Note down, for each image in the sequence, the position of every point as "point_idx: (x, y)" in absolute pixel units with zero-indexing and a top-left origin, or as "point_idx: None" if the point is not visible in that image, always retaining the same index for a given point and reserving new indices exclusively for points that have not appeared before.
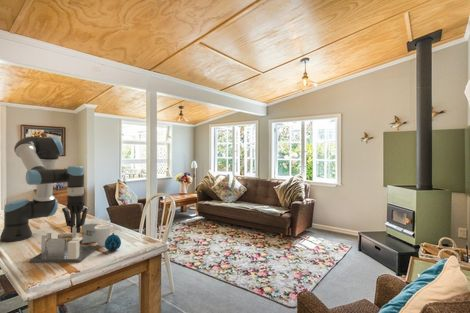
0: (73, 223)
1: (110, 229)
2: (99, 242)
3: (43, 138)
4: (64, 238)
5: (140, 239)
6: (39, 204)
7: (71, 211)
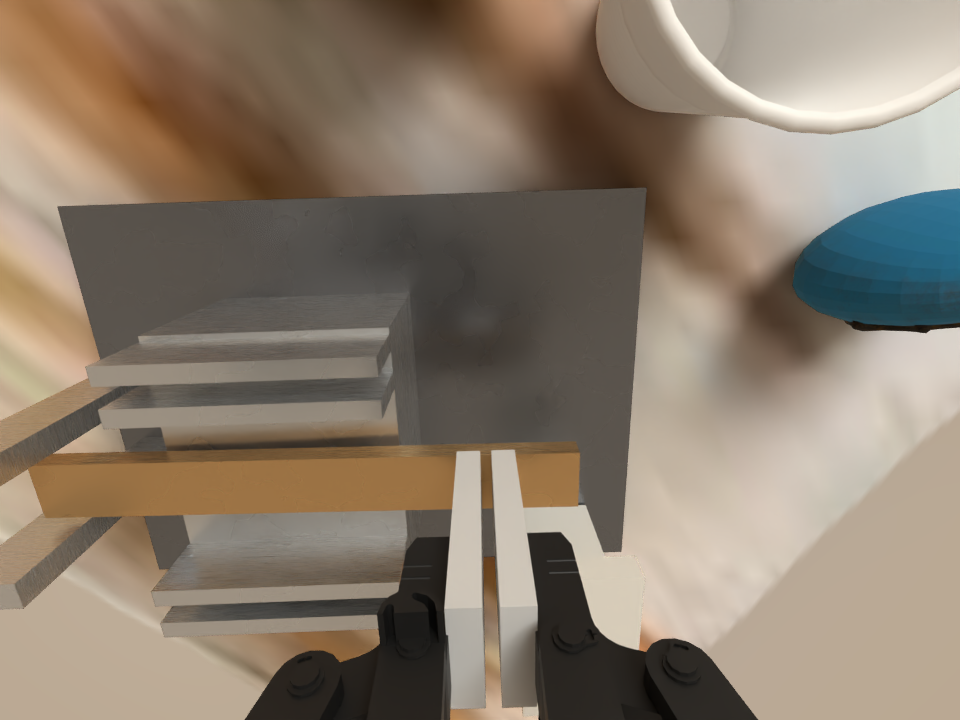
0: (407, 706)
1: None
2: (666, 111)
3: None
4: (293, 464)
5: None
6: None
7: None
